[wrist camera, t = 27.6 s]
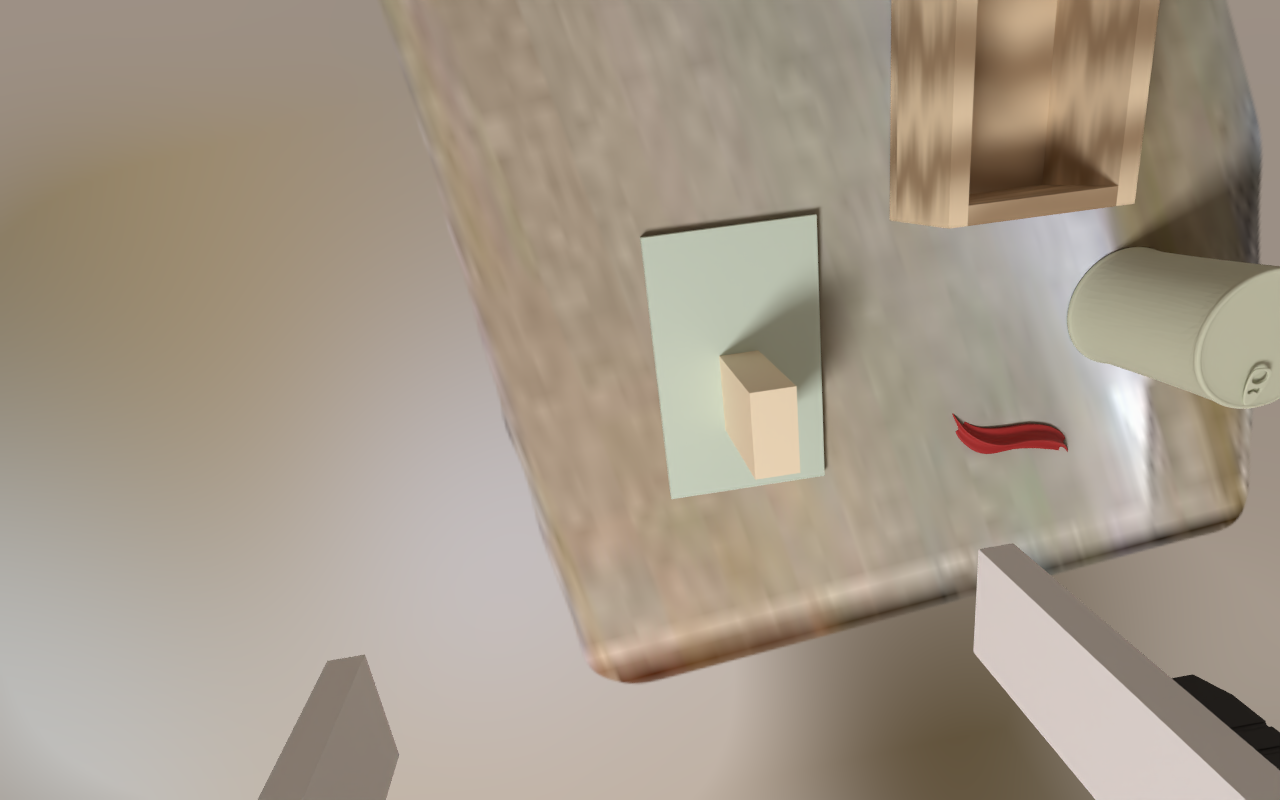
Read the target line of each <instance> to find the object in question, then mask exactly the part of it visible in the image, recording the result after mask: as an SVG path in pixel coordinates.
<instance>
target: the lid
mask: <svg viewBox="0 0 1280 800" xmlns="http://www.w3.org/2000/svg"><path fill="white" fill-rule="evenodd" d="M640 242H641V250H642V259H643V267H644V276H645V284H646V293H647V301H648V310H649V318H650V327H651V335H652V343H653V352H654V360H655V369H656V377H657V386H658V394H659V403H660V411H661V420H662V428H663V437H664V445H665V453H666V462H667V470H668V479H669V487H670V495H671V498H672V499H676V498H683V497H689V496H696V495H702V494H709V493H715V492H721V491H728V490H734V489H741V488H747V487H754V486H760V485H767V484H773V483H780V482H786V481H793V480H799V479H805V478H812V477H818V476H825V474H824V441H823V409H822V376H821V343H820V310H819V277H818V245H817V215H816V214H810V215H802V216H795V217H787V218H780V219H772V220H765V221H757V222H750V223H742V224H735V225H727V226H720V227H712V228H705V229H697V230H690V231H682V232H675V233H667V234H660V235H653V236H645V237H640Z"/></svg>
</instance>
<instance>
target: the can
mask: <svg viewBox="0 0 1280 800" xmlns="http://www.w3.org/2000/svg"><path fill="white" fill-rule="evenodd" d="M1067 326H1068V331H1069V335H1070V338H1071V340H1072V342H1073V344H1074V346H1075V347H1076V348H1077V349H1078V351H1079V352H1081V353H1082V354H1083V355H1084V356H1085V357H1087V358H1089V359H1091V360H1093V361H1096V362H1100V363H1107V364H1111V365H1114V366H1117V367H1120V368H1123V369H1126V370H1129V371H1132V372H1135V373H1138V374H1141V375H1144V376H1147V377H1149V378H1152V379H1155V380H1158V381H1161V382H1163V383H1166V384H1169V385H1172V386H1175V387H1177V388H1180V389H1183V390H1186V391H1189V392H1191V393H1194V394H1197V395H1199V396H1202V397H1205V398H1207V399H1210V400H1212V401H1214V402H1216V403H1218V404H1220V405H1223V406H1226V407H1230V408H1238V409H1248V408H1255V407H1259V406H1262V405H1266V404H1269V403H1271V402H1274V401H1276V400H1278V399H1280V266H1271V265H1261V264H1252V263H1244V262H1236V261H1228V260H1220V259H1211V258H1203V257H1196V256H1188V255H1181V254H1173V253H1167V252H1160V251H1157V250H1155V249H1151V248H1146V247H1132V248H1126V249H1122V250H1119V251H1116V252H1114V253H1112V254H1110V255H1108V256H1106V257H1104V258H1103V259H1101V260H1100V261H1099V262H1097V263H1096V264H1095V265H1094V266H1093V267H1092V268H1091V269H1090V270H1089V271H1088V272H1087V273H1086V274H1085V275H1084V277H1083V278H1082V279H1081V280H1080V282H1079V284H1078V285H1077V287H1076V289H1075V291H1074V293H1073V295H1072V298H1071V300H1070V304H1069V308H1068V316H1067Z"/></svg>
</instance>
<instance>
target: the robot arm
mask: <svg viewBox="0 0 1280 800" xmlns="http://www.w3.org/2000/svg"><path fill="white" fill-rule="evenodd" d="M974 653H975V654H976V656H977V657H978V658H979V659H980V660H981V662H982V663H983V664H984V665H985V667H986V668H987V669H988V670H989V671H990V672H991V674H992V675H993V676H994V677H995V679H996V680H997V681H998V682H999V683H1000V685H1001V686H1002V687H1003V688H1004V689H1005V691H1006V692H1007V693H1008V694H1009V695H1010V697H1011V698H1012V699H1013V700H1014V701H1015V703H1016V704H1017V705H1018V706H1019V707H1020V709H1021V710H1022V711H1023V712H1024V713H1025V715H1026V716H1027V717H1028V718H1029V720H1030V721H1031V722H1032V723H1033V724H1034V726H1035V727H1036V728H1037V729H1038V730H1039V732H1040V733H1041V734H1042V735H1043V737H1044V738H1045V739H1046V740H1047V741H1048V743H1049V744H1050V745H1051V746H1052V747H1053V749H1054V750H1055V751H1056V752H1057V753H1058V755H1059V756H1060V757H1061V758H1062V759H1063V760H1064V762H1065V763H1066V764H1067V765H1068V767H1069V768H1070V769H1071V770H1072V772H1073V773H1074V774H1075V775H1076V776H1077V777H1078V779H1079V780H1080V781H1081V782H1082V783H1083V785H1084V786H1085V787H1086V788H1087V790H1088V791H1089V792H1090V793H1091V794H1092V795H1093V797H1094V798H1095V799H1096V800H1280V732H1278V731H1277V730H1276V729H1275V728H1273V727H1268V726H1267V725H1266V723H1265V720H1263V719H1262V718H1261V717H1260V716H1258V715H1257V714H1256V713H1255V712H1253V711H1252V710H1251V709H1250V708H1248V707H1247V706H1246V705H1244V704H1243V703H1242V702H1241V701H1239V700H1238V699H1237V698H1236V697H1234V696H1233V695H1232V694H1230V693H1228V692H1226V691H1224V690H1222V689H1220V688H1218V687H1216V686H1214V685H1212V684H1210V683H1208V682H1207V681H1205V680H1203V679H1201V678H1199V677H1197V676H1195V675H1187V676H1182V677H1177V678H1171V677H1169V676H1168V675H1167V674H1166V673H1165V672H1164V671H1162V670H1161V669H1160V668H1159V667H1158V666H1156V665H1155V664H1154V663H1153V662H1152V661H1151V660H1149V659H1148V658H1147V657H1146V656H1145V655H1144V654H1142V653H1141V652H1140V651H1139V650H1138V649H1136V648H1135V647H1134V646H1133V645H1132V644H1130V643H1129V642H1128V641H1127V640H1126V639H1125V638H1124V637H1122V636H1121V635H1120V634H1119V633H1118V632H1117V631H1115V630H1114V629H1113V628H1112V627H1111V626H1109V625H1108V624H1107V623H1106V622H1105V621H1104V620H1102V619H1101V618H1100V617H1099V616H1098V615H1096V614H1095V613H1094V612H1093V611H1092V610H1091V609H1089V608H1088V607H1087V606H1086V605H1085V604H1084V603H1082V602H1081V601H1080V600H1079V599H1078V598H1077V597H1075V596H1074V595H1073V594H1072V593H1071V592H1070V591H1068V590H1067V589H1066V588H1065V587H1064V586H1062V585H1061V584H1060V583H1059V582H1058V581H1056V580H1055V579H1054V578H1053V577H1052V576H1051V575H1050V574H1048V573H1047V572H1046V571H1045V570H1044V569H1043V568H1041V567H1040V566H1039V565H1038V564H1037V563H1035V562H1034V561H1033V560H1032V559H1031V558H1030V557H1028V556H1027V555H1026V554H1025V553H1024V552H1023V551H1021V550H1020V549H1019V548H1018V547H1017V546H1015V545H1014V544H1007V545H1001V546H995V547H989V548H984V549H979V556H978V575H977V595H976V614H975V634H974ZM398 757H399V753H398V750H397V747H396V744H395V742H394V739H393V736H392V733H391V730H390V727H389V724H388V721H387V718H386V715H385V712H384V709H383V706H382V703H381V701H380V698H379V695H378V692H377V689H376V686H375V683H374V680H373V677H372V674H371V671H370V668H369V665H368V662H367V660H366V657H365V655H360V656H354V657H349V658H343V659H337V660H331V661H327V663H326V665H325V667H324V669H323V671H322V673H321V675H320V677H319V679H318V681H317V683H316V685H315V687H314V689H313V691H312V693H311V695H310V697H309V699H308V701H307V703H306V705H305V707H304V709H303V711H302V713H301V715H300V717H299V719H298V721H297V723H296V725H295V727H294V729H293V731H292V733H291V735H290V737H289V739H288V741H287V743H286V745H285V747H284V749H283V751H282V753H281V754H280V756H279V758H278V761H277V763H276V765H275V766H274V769H273V770H272V772H271V775H270V776H269V779H268V780H267V782H266V784H265V786H264V788H263V791H262V792H261V794H260V796H259V799H258V800H386V797H387V793H388V790H389V787H390V783H391V780H392V776H393V773H394V770H395V767H396V763H397V760H398Z"/></svg>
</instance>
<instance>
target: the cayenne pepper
mask: <svg viewBox="0 0 1280 800" xmlns="http://www.w3.org/2000/svg"><path fill="white" fill-rule="evenodd" d="M953 417H954V419H955V421H956V423H957V426H958V430H957V431H956V434H957V436H958V437H959V439H960V440H961V441H962V442H963V443H964V444H965V445H966V446H968V447H969V448H970V449H972V450H974V451H976V452H979V453H983V454H992V453H998V452H1002V451H1006V450H1011V449H1019V448H1042V449H1054V450H1059V447H1064V448H1065V449H1066V451H1067V452H1068V449H1067V447H1066V445H1065V444H1064V443H1063V440H1064V439H1065V437H1064V435H1063V434H1062V433H1061V432H1060V431H1059V430H1057V429H1055V428H1053V427H1050V426H1047V425H1041V424H1019V425H1013V426H1007V427H999V428H980V427H976V426H973V425H971V424H969V423H967V422H964V424H963V425H962V424H961V423H960V422H959V421H958V420H957V419H956V417H955V416H954V414H953Z"/></svg>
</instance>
